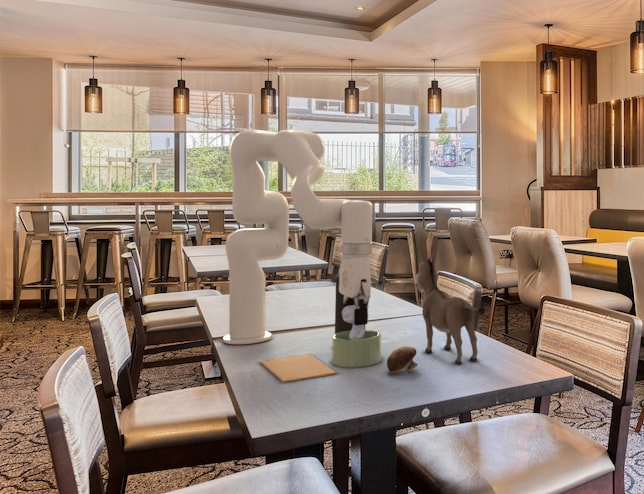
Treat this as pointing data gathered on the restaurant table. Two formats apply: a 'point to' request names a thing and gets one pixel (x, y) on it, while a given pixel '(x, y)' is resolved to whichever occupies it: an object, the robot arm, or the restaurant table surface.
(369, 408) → the restaurant table surface
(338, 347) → the green bowl
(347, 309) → the toy figurine
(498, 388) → the restaurant table surface
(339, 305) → the container
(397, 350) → the mushroom
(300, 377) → the mat
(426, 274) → the toy
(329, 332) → the restaurant table surface
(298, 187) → the robot arm
